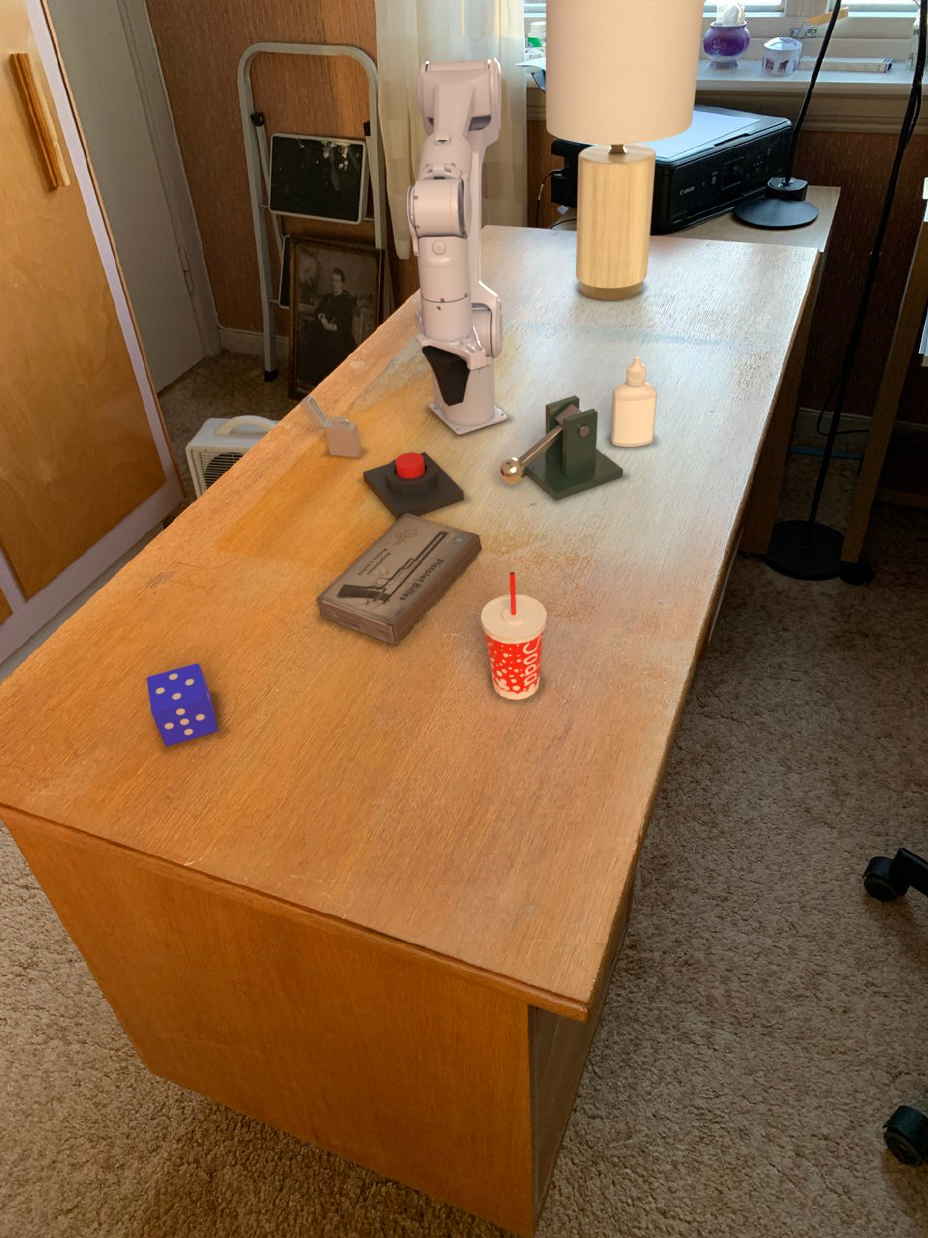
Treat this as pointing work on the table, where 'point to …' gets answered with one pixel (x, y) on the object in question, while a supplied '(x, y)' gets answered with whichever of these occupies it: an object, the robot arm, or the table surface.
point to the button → (410, 465)
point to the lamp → (618, 120)
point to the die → (181, 704)
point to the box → (399, 578)
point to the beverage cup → (514, 642)
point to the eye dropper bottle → (633, 409)
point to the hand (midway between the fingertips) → (453, 402)
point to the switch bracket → (572, 454)
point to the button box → (413, 489)
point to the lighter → (334, 429)
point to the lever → (534, 450)
